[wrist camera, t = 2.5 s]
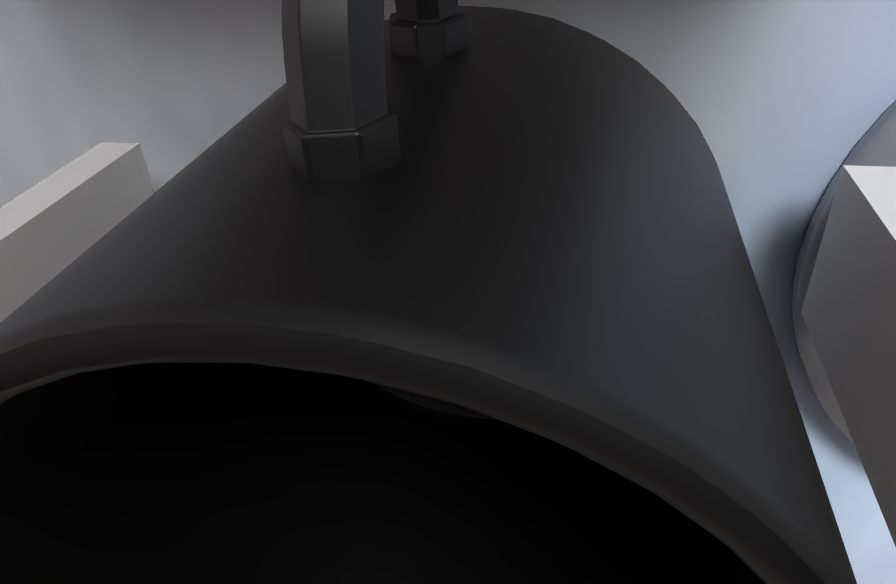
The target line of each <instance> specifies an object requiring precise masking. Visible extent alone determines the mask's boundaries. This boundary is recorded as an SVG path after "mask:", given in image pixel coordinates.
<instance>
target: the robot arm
mask: <svg viewBox="0 0 896 584" xmlns="http://www.w3.org/2000/svg"><path fill="white" fill-rule="evenodd" d="M153 194H154V192H153V188H152V185H151V182H150V178H149V175H148V171H147V168H146V165H145V161H144V158H143V155H142V151H141V148H140V145H139V143H113V142H101V143H99V144H98V145H96V146H95V147H93V148H92V149H90V150H88V151H87V152H85V153H84V154H82V155H81V156H79V157H78V158H76V159H74V160H73V161H71V162H70V163H68V164H67V165H65V166H64V167H62V168H61V169H59V170H57V171H56V172H54V173H53V174H51V175H50V176H48V177H47V178H45V179H44V180H42V181H40V182H39V183H37V184H36V185H34V186H33V187H31V188H30V189H28V190H26V191H25V192H23V193H22V194H20V195H19V196H17V197H16V198H14V199H13V200H11V201H9V202H8V203H6V204H5V205H3V206H2V207H0V322H2V321H3V320H4V319H5V318H6V317H8V316H9V315H10V314H11V313H12V312H14V311H15V310H16V309H17V308H18V307H20V306H21V305H22V304H23V303H24V302H26V301H27V300H28V299H29V298H30V297H31V296H33V295H34V294H35V293H36V292H37V291H39V290H40V289H41V288H42V287H43V286H45V285H46V284H47V283H48V282H49V281H51V280H52V279H53V278H54V277H55V276H56V275H58V274H59V273H60V272H61V271H62V270H64V269H65V268H66V267H67V266H68V265H70V264H71V263H72V262H73V261H74V260H76V259H77V258H78V257H79V256H80V255H82V254H83V253H84V252H85V251H86V250H87V249H89V248H90V247H91V246H92V245H93V244H95V243H96V242H97V241H98V240H99V239H101V238H102V237H103V236H104V235H105V234H107V233H108V232H109V231H110V230H111V229H112V228H114V227H115V226H116V225H117V224H118V223H120V222H121V221H122V220H123V219H124V218H126V217H127V216H128V215H129V214H130V213H132V212H133V211H134V210H135V209H136V208H138V207H139V206H140V205H141V204H142V203H143V202H145V201H146V200H147V199H148V198H149V197H151V196H152V195H153ZM801 313H802V316H803V318H804V321H805V323H806V326H807V328H808V330H809V333H810V335H811V338H812V340H813V343H814V345H815V348H816V350H817V353H818V355H819V358H820V360H821V363H822V365H823V368H824V370H825V373H826V375H827V378H828V380H829V383H830V385H831V387H832V390H833V392H834V395H835V397H836V400H837V402H838V405H839V407H840V410H841V412H842V415H843V417H844V420H845V422H846V425H847V427H848V430H849V432H850V435H851V437H852V440H853V442H854V444H855V447H856V449H857V452H858V454H859V457H860V459H861V462H862V464H863V467H864V469H865V472H866V474H867V477H868V479H869V482H870V484H871V487H872V489H873V492H874V494H875V497H876V499H877V501H878V504H879V506H880V509H881V511H882V514H883V516H884V519H885V521H886V524H887V526H888V529H889V531H890V534H891V536H892V539H893V541H894V544H895V546H896V167H884V166H852V165H843V168H842V171H841V175H840V178H839V182H838V185H837V189H836V192H835V196H834V199H833V203H832V206H831V210H830V213H829V217H828V220H827V224H826V227H825V231H824V234H823V237H822V241H821V244H820V248H819V251H818V255H817V258H816V262H815V265H814V269H813V272H812V276H811V279H810V283H809V286H808V290H807V293H806V297H805V300H804V304H803V307H802V311H801Z"/></svg>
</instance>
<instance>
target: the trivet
mask: <svg viewBox="0 0 896 584" xmlns="http://www.w3.org/2000/svg"><path fill="white" fill-rule="evenodd" d="M843 165H852V166H884V167H896V101H895V102H894V103H893V104H892V105H891V106H890V107H889V108H888V109H887V110H886V111H885V112H884V113H883V115H882V116H881V117H880V118H879V119H878V120H877V121H876V123H875V124H874V125H873V126H872V127H871V128H870V129H869V131H868V132H867V133H866V134H865V135H864V136H863V138H862V139H861V140H860V141H859V142H858V143H857V144H856V146H855V147H854V148H853V150H852V151H851V153H850V154H849V156H848V157H847V159H846V160H845V162H844V163H843V164H842V166H841V167H840V169H839V170H838V172H837V173H836V175H835V176H834V178H833V179H832V180H831V182H830V183H829V185H828V187H827V189H826V191H825V193H824V195H823V197H822V199H821V201H820V203H819V205H818V207H817V209H816V211H815V212H814V214H813V216H812V218H811V221H810V224H809V226H808V229H807V232H806V235H805V238H804V241H803V243H802V246H801V249H800V252H799V256H798V261H797V266H796V272H795V277H794V282H793V298H792V320H793V326H794V332H795V338H796V344H797V348H798V351H799V354H800V356H801V359H802V362H803V365H804V368H805V370H806V373H807V376H808V379H809V381H810V384H811V387H812V390H813V392H814V394H815V396H816V397H817V399H818V401H819V402H820V404H821V406H822V408H823V409H824V411H825V413H826V415H827V416H828V417H829V419H830V420H831V421H832V422H833V423H834V425H835V426H836V427H837V428H838V429H839V430H840V432H841V433H842V434H843V435H844V436H845V438H846V439H848V440H849V441H850V442H851V443H852V444H853V445H855V444H854V442H853V440H852V437H851V435H850V432H849V430H848V427H847V425H846V422H845V420H844V417H843V415H842V412H841V410H840V407H839V405H838V402H837V400H836V397H835V395H834V392H833V390H832V387H831V385H830V383H829V380H828V378H827V375H826V373H825V370H824V368H823V365H822V363H821V360H820V358H819V355H818V353H817V350H816V348H815V345H814V343H813V340H812V338H811V335H810V333H809V330H808V328H807V326H806V323H805V321H804V318H803V316H802V313H801V311H802V307H803V304H804V300H805V297H806V293H807V290H808V286H809V283H810V279H811V276H812V272H813V269H814V265H815V262H816V258H817V255H818V251H819V248H820V244H821V241H822V237H823V234H824V231H825V227H826V224H827V220H828V217H829V213H830V210H831V206H832V203H833V199H834V196H835V192H836V189H837V185H838V182H839V178H840V175H841V171H842V168H843Z"/></svg>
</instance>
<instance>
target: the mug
mask: <svg viewBox="0 0 896 584" xmlns="http://www.w3.org/2000/svg"><path fill="white" fill-rule="evenodd" d="M395 5H396V12H395V13H392V14H391V16H390V19H388V20H385V21H384V0H282V37H283V50H284V62H285V71H286V81H287V82H286V83H285V84H284V85H283V86H282V87H280V88H279V89H278V90H277V91H276V92H275V93H273V94H272V95H271V96H270V97H269V98H267V99H266V100H265V101H264V102H263V103H261V104H260V105H259V106H258V107H257V108H255V109H254V110H253V111H252V112H251V113H249V114H248V115H247V116H246V117H245V118H244V119H242V120H241V121H240V122H239V123H238V124H236V125H235V126H234V127H233V128H232V129H230V130H229V131H228V132H227V133H226V134H224V135H223V136H222V137H221V138H220V139H219V140H217V141H216V142H215V143H214V144H213V145H211V146H210V147H209V148H208V149H207V150H205V151H204V152H203V153H202V154H201V155H199V156H198V157H197V158H196V159H195V160H194V161H192V162H191V163H190V164H189V165H188V166H186V167H185V168H184V169H183V170H182V171H180V172H179V173H178V174H177V175H176V176H174V177H173V178H172V179H171V180H170V181H168V182H167V183H166V184H165V185H164V186H163V187H161V188H160V189H159V190H158V191H157V192H155V193H154V194H153V195H152V196H151V197H149V198H148V199H147V200H146V201H145V202H143V203H142V204H141V205H140V206H139V207H138V208H136V209H135V210H134V211H133V212H132V213H130V214H129V215H128V216H127V217H126V218H124V219H123V220H122V221H121V222H120V223H118V224H117V225H116V226H115V227H114V228H112V229H111V230H110V231H109V232H108V233H107V234H105V235H104V236H103V237H102V238H101V239H99V240H98V241H97V242H96V243H95V244H93V245H92V246H91V247H90V248H89V249H87V250H86V251H85V252H84V253H83V254H82V255H80V256H79V257H78V258H77V259H76V260H74V261H73V262H72V263H71V264H70V265H68V266H67V267H66V268H65V269H64V270H62V271H61V272H60V273H59V274H58V275H56V276H55V277H54V278H53V279H52V280H51V281H49V282H48V283H47V284H46V285H45V286H43V287H42V288H41V289H40V290H39V291H37V292H36V293H35V294H34V295H33V296H31V297H30V298H29V299H28V300H27V301H26V302H24V303H23V304H22V305H21V306H20V307H18V308H17V309H16V310H15V311H14V312H12V313H11V314H10V315H9V316H8V317H6V318H5V319H4V320H3V321H2V322H0V584H857V582H856V579H855V576H854V573H853V570H852V567H851V564H850V561H849V558H848V555H847V552H846V549H845V546H844V543H843V540H842V537H841V534H840V531H839V528H838V525H837V522H836V519H835V516H834V513H833V510H832V507H831V504H830V501H829V498H828V495H827V492H826V489H825V486H824V483H823V480H822V477H821V474H820V471H819V468H818V465H817V462H816V459H815V456H814V453H813V450H812V447H811V444H810V441H809V438H808V435H807V432H806V429H805V426H804V423H803V420H802V417H801V414H800V411H799V408H798V405H797V402H796V399H795V396H794V393H793V390H792V387H791V384H790V381H789V378H788V375H787V372H786V369H785V366H784V363H783V360H782V357H781V354H780V351H779V348H778V345H777V342H776V339H775V336H774V333H773V330H772V327H771V324H770V321H769V318H768V315H767V312H766V309H765V306H764V303H763V300H762V297H761V294H760V291H759V288H758V285H757V282H756V279H755V276H754V273H753V270H752V267H751V264H750V261H749V258H748V255H747V252H746V249H745V246H744V243H743V240H742V237H741V234H740V231H739V228H738V225H737V222H736V219H735V216H734V213H733V210H732V207H731V204H730V201H729V198H728V195H727V192H726V189H725V186H724V183H723V180H722V177H721V174H720V171H719V168H718V166H717V163H716V161H715V159H714V156H713V154H712V152H711V150H710V148H709V146H708V144H707V142H706V141H705V139H704V137H703V135H702V133H701V131H700V129H699V127H698V125H697V124H696V123H695V121H694V120H693V119H692V118H691V116H690V115H689V114H688V112H687V111H686V110H685V109H684V107H683V106H682V105H681V104H680V102H679V101H678V100H677V99H676V97H675V96H674V95H673V94H672V93H671V92H670V91H669V90H668V89H667V88H666V87H665V86H664V85H663V84H662V83H661V82H660V81H659V80H658V79H657V78H655V77H654V76H653V75H652V74H651V73H650V72H649V71H648V70H646V69H645V68H644V67H643V66H642V65H641V64H640V63H639V62H637V61H636V60H635V59H633V58H631V57H630V56H628V55H626V54H625V53H623V52H622V51H620V50H618V49H617V48H615V47H614V46H612V45H610V44H609V43H607V42H605V41H604V40H602V39H600V38H598V37H596V36H594V35H592V34H590V33H588V32H585V31H583V30H580V29H578V28H575V27H573V26H570V25H568V24H565V23H563V22H561V21H558V20H556V19H553V18H548V17H544V16H539V15H535V14H530V13H526V12H521V11H517V10H510V9H503V8H490V7H472V6H458V0H395Z"/></svg>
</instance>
